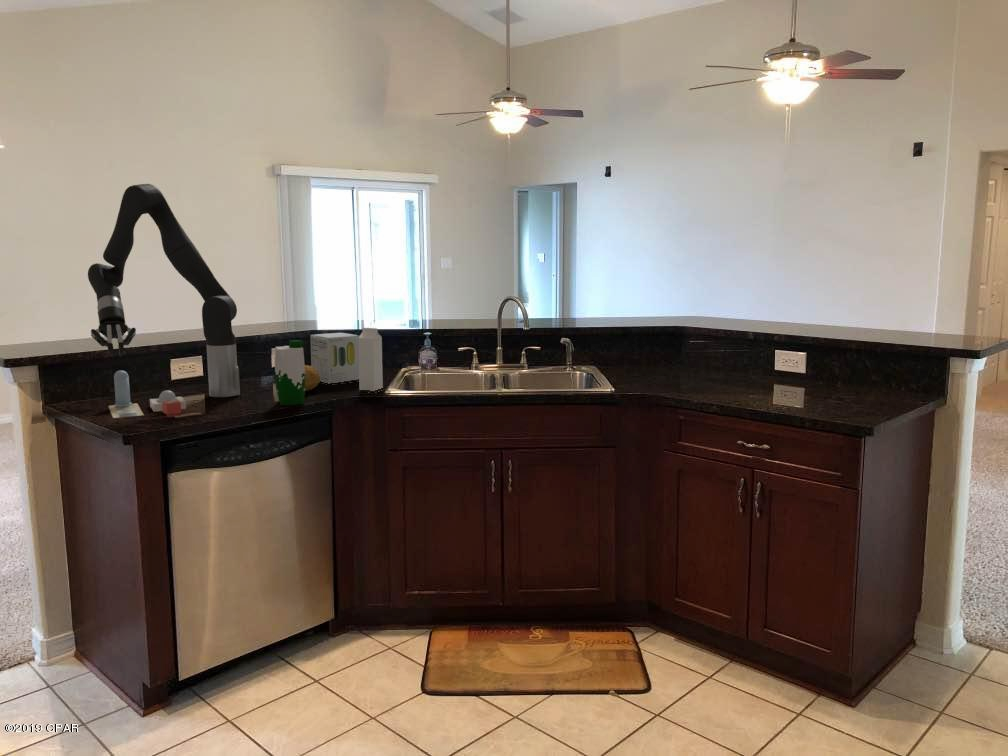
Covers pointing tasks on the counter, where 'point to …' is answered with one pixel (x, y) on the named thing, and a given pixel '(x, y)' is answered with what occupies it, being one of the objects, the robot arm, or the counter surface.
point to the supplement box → (335, 357)
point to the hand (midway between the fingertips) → (116, 354)
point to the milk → (370, 360)
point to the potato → (311, 377)
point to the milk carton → (290, 373)
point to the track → (126, 411)
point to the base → (158, 406)
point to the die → (171, 408)
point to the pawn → (122, 389)
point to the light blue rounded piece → (167, 396)
